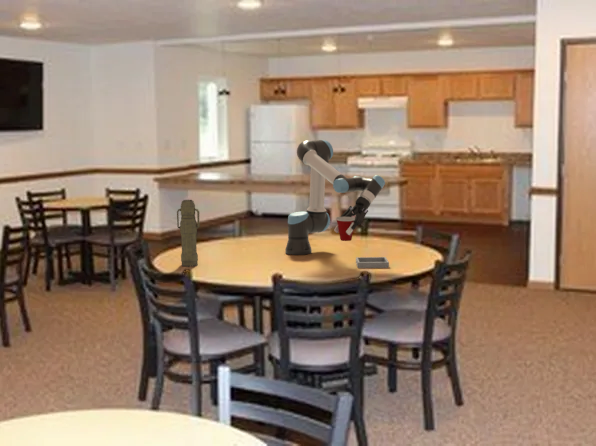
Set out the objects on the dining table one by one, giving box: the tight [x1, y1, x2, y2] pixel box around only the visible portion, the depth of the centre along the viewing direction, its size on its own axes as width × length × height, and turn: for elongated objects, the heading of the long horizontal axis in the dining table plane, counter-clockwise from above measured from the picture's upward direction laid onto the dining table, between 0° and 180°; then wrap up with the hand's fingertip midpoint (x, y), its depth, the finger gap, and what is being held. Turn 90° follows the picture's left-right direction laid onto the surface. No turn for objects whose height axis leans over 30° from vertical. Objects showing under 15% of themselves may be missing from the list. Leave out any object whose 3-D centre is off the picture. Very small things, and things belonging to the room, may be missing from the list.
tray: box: [355, 256, 390, 269], centre depth 422 cm, size 16×16×3 cm
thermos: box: [176, 199, 200, 268], centre depth 426 cm, size 9×12×35 cm
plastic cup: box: [335, 216, 355, 242], centre depth 422 cm, size 11×11×12 cm
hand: (341, 232), depth 420 cm, fingers closed on plastic cup, 10 cm apart
